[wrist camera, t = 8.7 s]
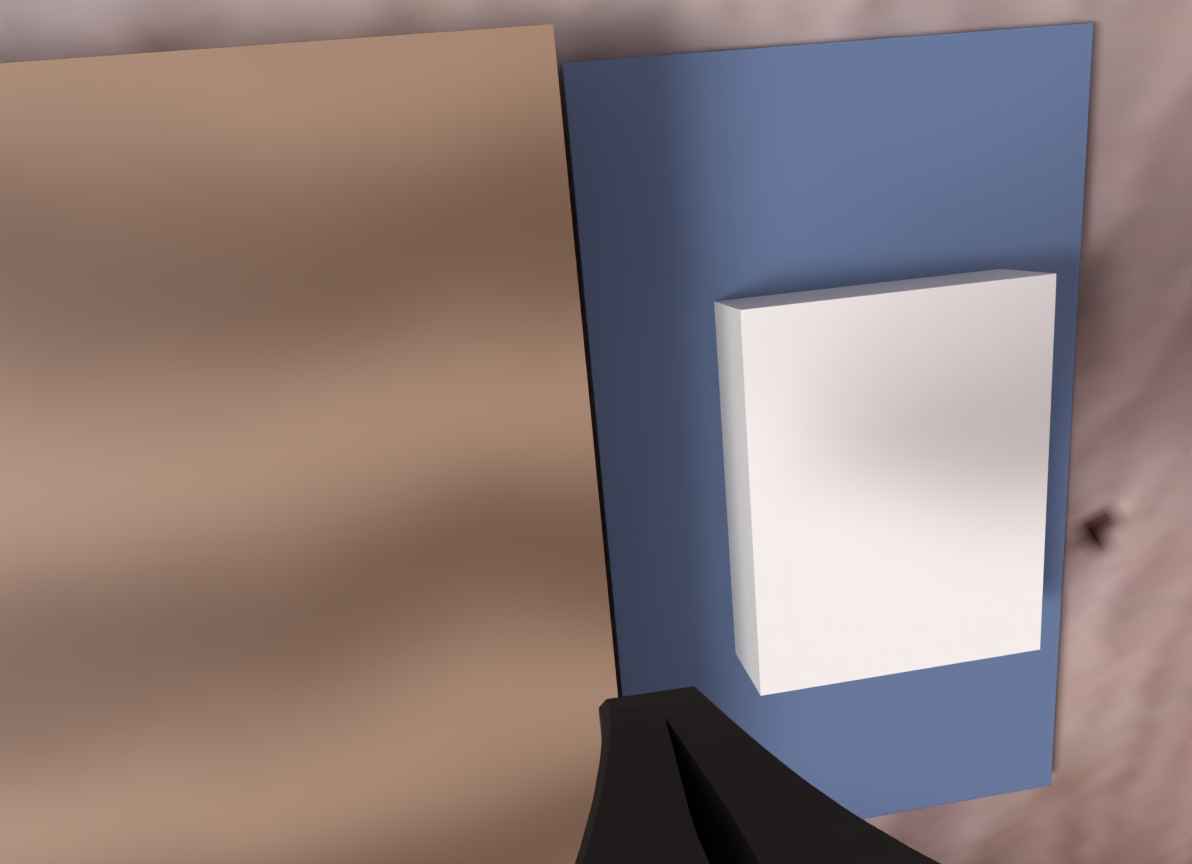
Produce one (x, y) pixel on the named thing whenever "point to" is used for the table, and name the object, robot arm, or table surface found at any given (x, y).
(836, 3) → the table surface
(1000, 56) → the mat
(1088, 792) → the table surface
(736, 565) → the tile
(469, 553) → the stand
